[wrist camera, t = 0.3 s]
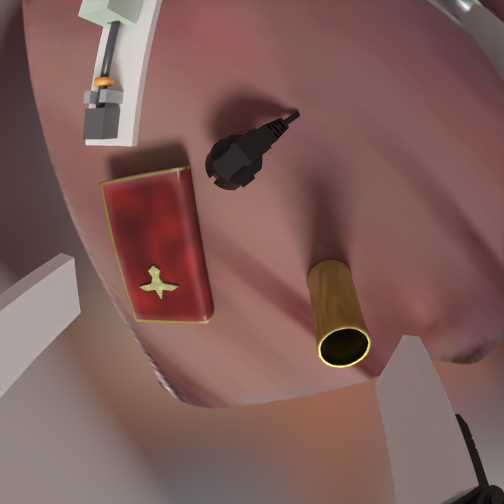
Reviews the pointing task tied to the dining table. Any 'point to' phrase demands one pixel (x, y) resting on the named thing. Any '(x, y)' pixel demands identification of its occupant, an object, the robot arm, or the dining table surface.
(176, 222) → the hardcover book
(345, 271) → the vase
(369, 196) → the dining table surface
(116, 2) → the pale green block
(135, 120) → the linear slide rail
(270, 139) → the power plug
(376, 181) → the dining table surface
